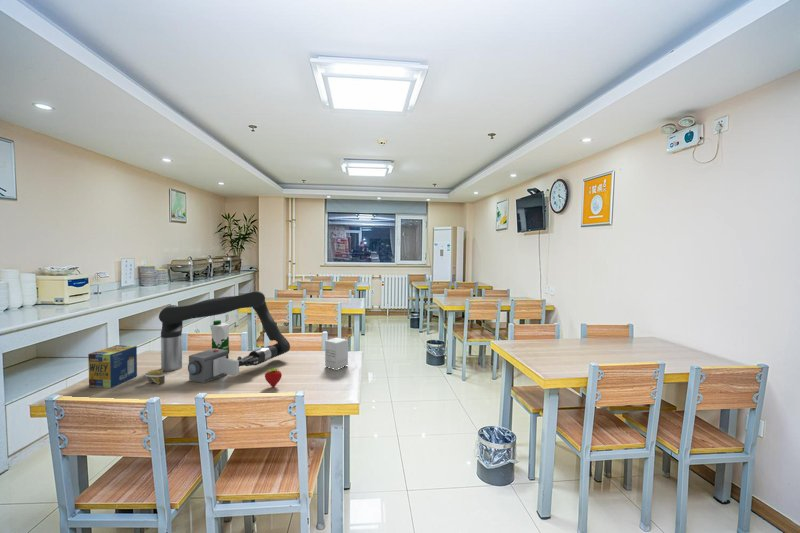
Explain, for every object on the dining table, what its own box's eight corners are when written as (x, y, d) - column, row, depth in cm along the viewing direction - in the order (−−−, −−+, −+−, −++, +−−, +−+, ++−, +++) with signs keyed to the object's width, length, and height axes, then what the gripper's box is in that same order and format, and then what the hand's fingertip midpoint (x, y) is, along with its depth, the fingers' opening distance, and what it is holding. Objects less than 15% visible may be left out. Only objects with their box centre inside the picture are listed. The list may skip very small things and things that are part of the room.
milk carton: (219, 351, 215) (218, 319, 214) (232, 352, 213) (231, 320, 212) (208, 355, 207) (208, 322, 206) (222, 356, 205) (221, 322, 204)
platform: (164, 390, 155) (163, 375, 155) (126, 388, 157) (125, 374, 156) (182, 380, 167) (182, 367, 167) (146, 379, 168) (146, 366, 168)
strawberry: (279, 389, 157) (279, 367, 157) (262, 389, 157) (262, 367, 156) (283, 384, 163) (283, 363, 162) (267, 384, 163) (267, 363, 162)
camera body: (200, 385, 161) (200, 358, 160) (184, 382, 164) (184, 355, 164) (229, 373, 176) (228, 348, 176) (213, 371, 180) (213, 346, 179)
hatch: (231, 379, 163) (231, 362, 162) (213, 376, 167) (213, 359, 166) (243, 374, 169) (243, 358, 169) (225, 371, 173) (225, 355, 173)
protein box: (88, 387, 156) (87, 353, 156) (117, 375, 172) (117, 344, 171) (110, 388, 156) (109, 354, 155) (137, 376, 171) (137, 345, 171)
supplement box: (336, 363, 195) (336, 337, 194) (348, 366, 190) (348, 339, 189) (324, 367, 187) (324, 340, 187) (336, 371, 182) (336, 343, 182)
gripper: (250, 347, 186) (223, 356, 170) (270, 350, 181) (245, 359, 165) (250, 361, 186) (223, 371, 170) (270, 364, 182) (245, 375, 165)
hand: (234, 365), depth 168 cm, fingers closed
